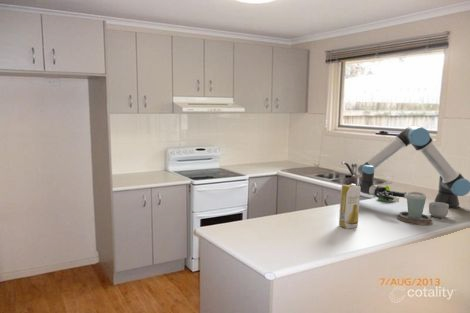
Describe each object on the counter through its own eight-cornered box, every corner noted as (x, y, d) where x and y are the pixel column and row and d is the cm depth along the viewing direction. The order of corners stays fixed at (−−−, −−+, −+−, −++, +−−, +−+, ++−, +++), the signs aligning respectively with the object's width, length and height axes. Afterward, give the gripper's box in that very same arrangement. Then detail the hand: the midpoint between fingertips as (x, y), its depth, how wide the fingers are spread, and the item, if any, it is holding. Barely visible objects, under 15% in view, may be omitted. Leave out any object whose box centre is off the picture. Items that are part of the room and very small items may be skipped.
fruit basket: (395, 200, 268) (396, 185, 266) (393, 203, 260) (394, 187, 259) (378, 198, 274) (379, 182, 272) (376, 200, 266) (377, 184, 265)
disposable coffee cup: (423, 222, 213) (425, 196, 211) (402, 218, 219) (405, 193, 217) (425, 217, 222) (427, 193, 220) (405, 214, 228) (407, 190, 226)
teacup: (450, 219, 224) (451, 206, 222) (430, 218, 226) (432, 205, 225) (442, 213, 237) (443, 201, 236) (423, 212, 239) (425, 199, 238)
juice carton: (346, 229, 198) (350, 185, 195) (336, 225, 205) (339, 182, 202) (359, 227, 202) (363, 184, 199) (349, 223, 209) (352, 181, 206)
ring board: (411, 214, 233) (411, 210, 233) (439, 222, 216) (440, 218, 216) (389, 217, 225) (390, 213, 224) (417, 226, 208) (418, 222, 208)
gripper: (391, 195, 250) (419, 203, 231) (363, 198, 238) (391, 207, 219) (392, 184, 249) (420, 191, 230) (364, 187, 237) (392, 194, 218)
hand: (406, 199), depth 225 cm, fingers open, 13 cm apart
